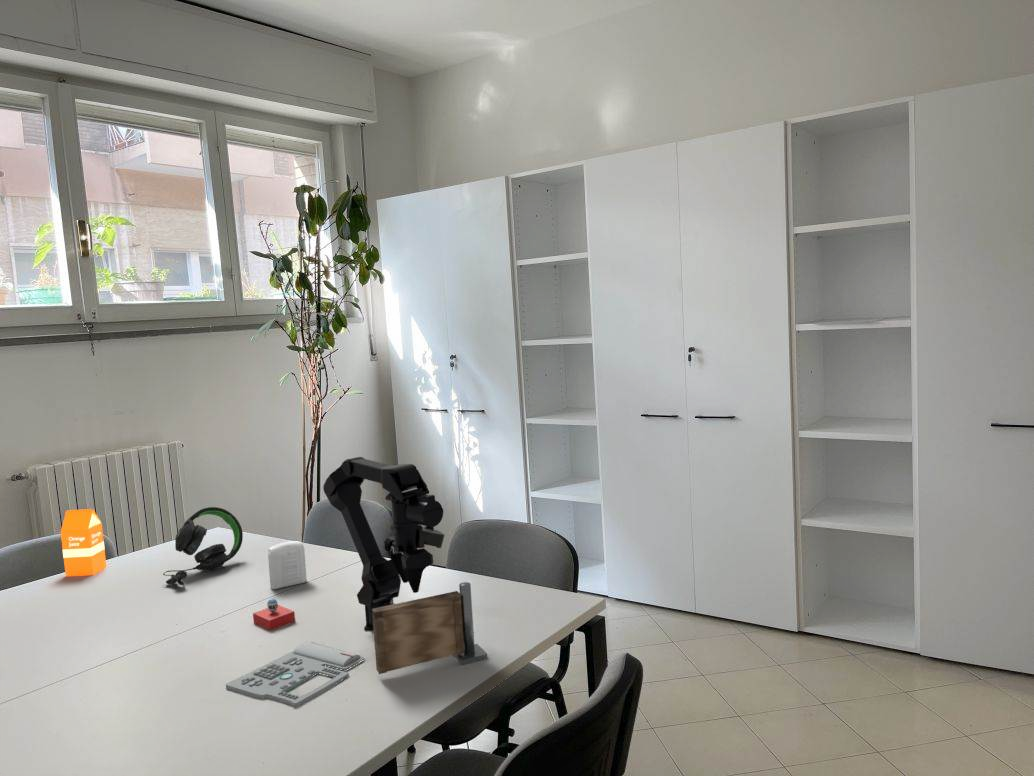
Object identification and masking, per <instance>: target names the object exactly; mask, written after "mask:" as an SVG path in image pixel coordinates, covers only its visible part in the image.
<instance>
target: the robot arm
mask: <svg viewBox="0 0 1034 776" xmlns="http://www.w3.org/2000/svg"><path fill="white" fill-rule="evenodd" d="M365 480H366V481H372V482H375V483H378V484H380V485H381V487H382V489H383V490H385V491H387V492H389V493H388V494H386V496H385V500H386V501H390V504H391V515H392V517H391V518H392V519H391V520H392V524H390V530H392V531H393V535H392V536H388V537H387V538H386V539H385V540H384V543H383V544H384V550H385V551H386V552H387V555H388V556H389V559H387V558H385V557H384V556H383V555H382V552H381V550H380V548H379V545H378V543H377V539H376V538H375V536H374V533H373V531H372V528H371V526H370V523H369V521H368V518H367V516H366V514H365V512H364V509H363V507H362V505H361V500H362V494H363V490H362V487H361V486H362V484H363V483H364V481H365ZM322 488H323V493H324V495H325V496H326V498H327V500H328V502H329V504H330V505H331V506H333V507H334V508H335V509H337V510H338V511H339V512H340V513H341V515H342V517H343V520H344V522H345V524H346V527H347V529H348V532H349V535H350V536H351V538H352V539H351V540H352V542H353V544H354V547H355V549H356V551H357V554H358V556H359V558H360V561H361V563H362V572H361V582H362V586H361V588H360V589H359V591H358V592H357V594H356V597H357V600H358V604H360V605H363V606H364V611H365V612H364V613H365V626H364V628H363V629H364V631H368V630H369V631H370V630H371V631H374V630H373V617H372V609H374V608H379V607H383V606H388V605H393V604H394V599H395V598H398V597H399V595H400V590H401V589H400V588H401V584H402V583H404V584H405V583H406V584H407V583H409V584H408V585H410V586H409V587H410V588H411V590H412V593H414V594H415V593H416V594H417V593H418V592H419V590H420V586H421V582H422V576H423V573H424V572H423V571H425V569H426V568H427V567H429V566H433V564H434V556H433V554H432V553H430V552H429V551H428V550H427V549H425V547H426V546H431V547H436V548H437V549H442V546H443V543H444V539H445V534H444V533H443V532H441V531H439V530H437V529H435V528H434V527H436V526H438V525H439V524H440V523H441V521H443V517H444V508H443V506H442V504H441V503H440V502H439V501H437V500H436V495H435V494H430V490H429V488H428V485H427V483H426V482H425V481H424V479H423V477H422V474H421V473H420V471H419V469H417V466H416V465H414V464H412V463H402V464H393V465H392V464H385V463H383V462H379V461H375V460H370V459H366V458H365V457H362V456H357V457H353V458H352V457H351V458H347V459H345V460H344V461H343V462H342V463H341V465H340V466H339V467H337V469H335V470H333V472H331V473H330V474H329V475H328V477H327V478H326V479H325V481H324V484H323V487H322Z"/></svg>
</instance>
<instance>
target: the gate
mask: <svg viewBox="0 0 1034 776" xmlns="http://www.w3.org/2000/svg"><path fill="white" fill-rule="evenodd" d="M372 617H373V630H372V631H373V639H374V640H373V641H374V655H375V666H376V667H375V668H376V672H377V673H378V675H382V674H386V673H388V672H392V671H395V670H399V669H403V668H407V667H411V666H416V665H419V664H424V663H428V662H431V661H435V660H439V659H444V658H448V657H452V656H453V655H456V654H457V655H459V654H463V653H464V639H463V624H462V609H461V594H460V591H458V590H455V591H451V592H446V593H439V594H435V595H431V596H428V597H423V598H417V599H411V600H408V601H404V602H398V603H393V605H388V606H383V607H379V608H374V609H372Z"/></svg>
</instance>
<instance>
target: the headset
mask: <svg viewBox="0 0 1034 776" xmlns="http://www.w3.org/2000/svg"><path fill="white" fill-rule="evenodd" d="M205 515H212V516H217V517H219V518H221V519H222V520H223V521H224V522H226V524H227V525H229V526H230V528H231V531H232V533H233V538H234V541H233V545H232V548H231V550H230V552H229V553H228V554H226V552H227V549H226V546H225V545H224V543H217V544H213V545H210V546H208V547H206V548H204V549H202V550H200V551H198V549H199V548H200V546H201V544H202V542H203V540H204V537H205V536H206V535H207V532H208V529H207V528H205V527H204V526H202V525H199V524H196V525H195V521H194V520H195V519H197V518H199V517H201V516H205ZM243 534H244V533H243V528H242V525H241V523H240V522H239V520H238V518H237V517H236V516H235V515H234V514H233V513H231V512H230V511H229V510H226V509H224V508H222V507H216V506H209V507H204V508H202V509H200V510H198V511H197V512H195V513H194V514H192V515H191V516H190V517H189V518H187V519H186V520H185V522H184V523H183V525H182V527H181V528H179V530H178V532H177V534H176V535H175V551H177V552H180V553H181V552H183V553H185V554H186V555H187V556H192V555H194V561H195V562H196V563H197V565H196V566H195V567H192V568H188V569H187V568H186V569H182V570H180V569H179V570H174V569H173V570H166V571H165V572H163V573H162V575H163V576H165V577H169V576H170V578H168V579H167V580H166V581H165V583H166V584H168V585H170V586H175V585H176V583H177V584H178V585H179V586H185V582H184V581H183V580H185V579H186V578H187V577H188V574H187V573H188V571H192V570H197V571H209V572H211V571H215V570H217V569H219V568H221V567H222V566H224V564H226V562H228V561H230V560H232V558H234V557H236V555H237V554H238V552H239V550H240V549H241V546H242V543H243V540H244V535H243ZM196 552H197V553H196ZM195 553H196V554H195ZM170 572H174V573H175V572H176V573H175V574H166V573H170Z"/></svg>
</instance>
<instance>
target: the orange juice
mask: <svg viewBox="0 0 1034 776" xmlns="http://www.w3.org/2000/svg"><path fill="white" fill-rule="evenodd" d="M60 538H61V539H60V540H61V548H62V557H63V564H64V573H65V577H79V576H80V577H81V576H83V577H84V576H94V575H96V574H97V573H100V572H101V571H102V570H104V569H106V568H107V560H106V559H107V558H106V551H105V541H104V533H103V524H102V521H101V519H100V518H99V516H98V514H96V511H95V510H94V509H93V508H88V509H87V508H85V509H70V510H69V509H67V510H66V511H65V515H64V518H63V522H62V525H61V529H60Z"/></svg>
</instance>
